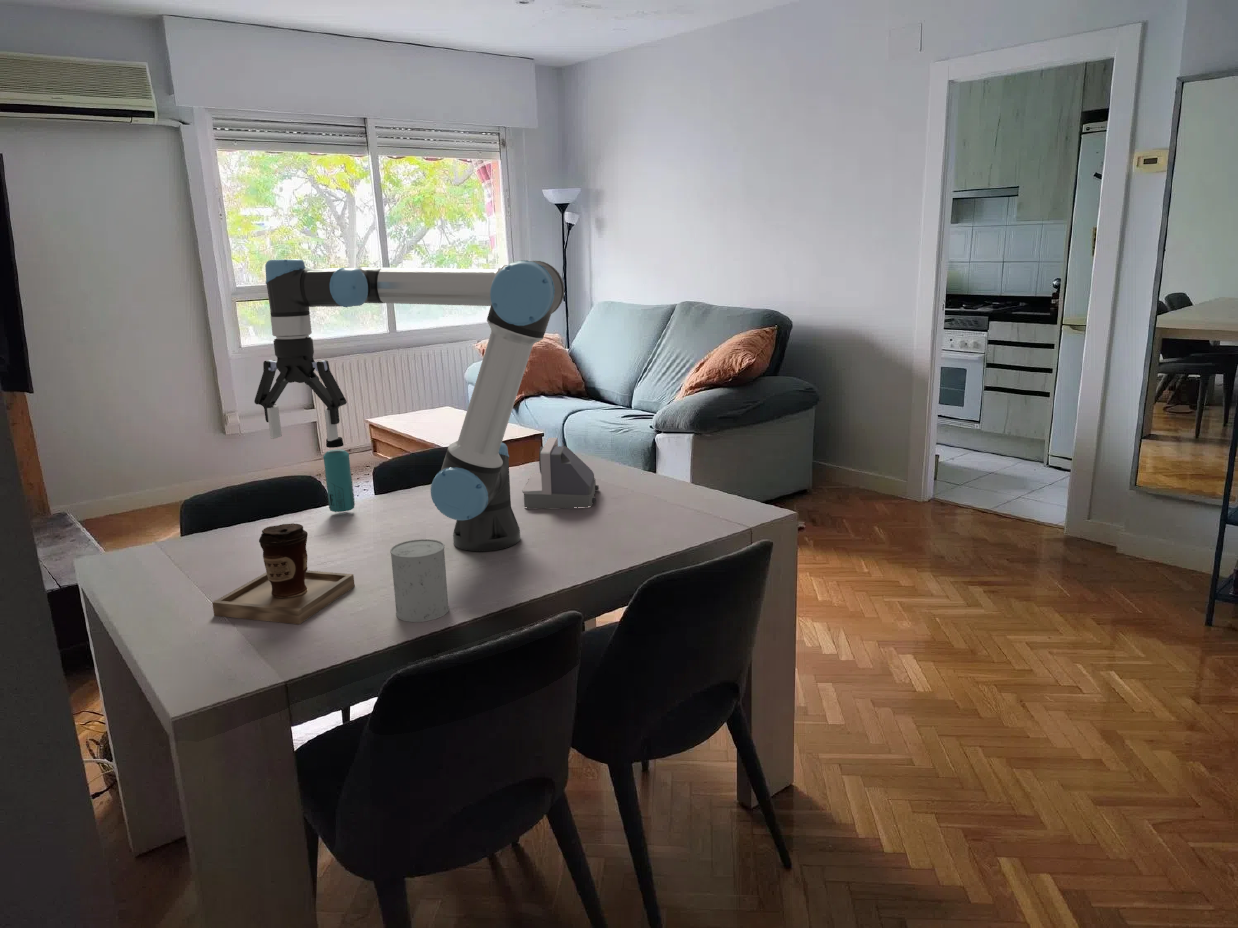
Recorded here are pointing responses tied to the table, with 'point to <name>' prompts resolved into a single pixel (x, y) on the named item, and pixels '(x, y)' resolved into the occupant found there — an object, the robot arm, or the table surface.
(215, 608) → the tray
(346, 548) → the table surface
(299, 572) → the coffee cup
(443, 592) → the white speckled cylinder
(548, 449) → the instant camera
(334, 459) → the beverage bottle
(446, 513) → the robot arm
